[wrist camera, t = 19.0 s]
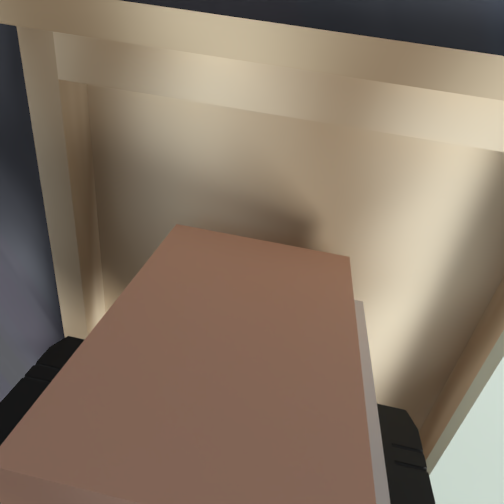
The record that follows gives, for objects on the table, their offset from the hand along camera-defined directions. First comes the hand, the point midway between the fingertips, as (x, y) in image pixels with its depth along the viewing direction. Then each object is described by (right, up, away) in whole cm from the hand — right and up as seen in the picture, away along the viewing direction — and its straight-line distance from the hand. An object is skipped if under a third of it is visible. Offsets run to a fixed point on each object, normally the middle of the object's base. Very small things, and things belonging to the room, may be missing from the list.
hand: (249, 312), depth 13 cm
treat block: (0, 0, 0) cm, 0 cm away
